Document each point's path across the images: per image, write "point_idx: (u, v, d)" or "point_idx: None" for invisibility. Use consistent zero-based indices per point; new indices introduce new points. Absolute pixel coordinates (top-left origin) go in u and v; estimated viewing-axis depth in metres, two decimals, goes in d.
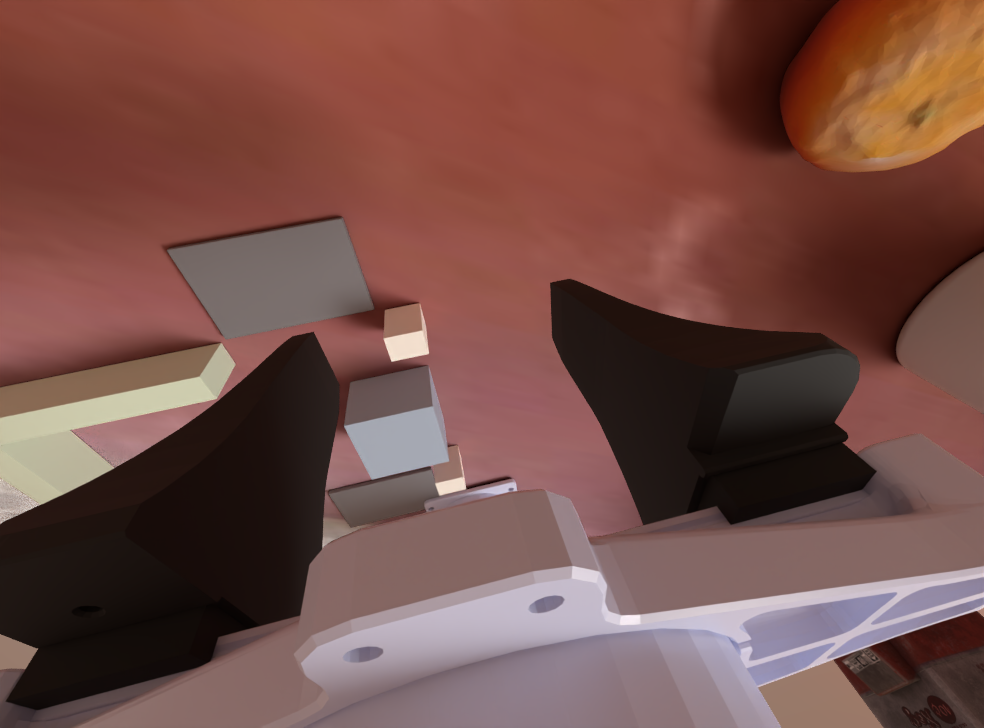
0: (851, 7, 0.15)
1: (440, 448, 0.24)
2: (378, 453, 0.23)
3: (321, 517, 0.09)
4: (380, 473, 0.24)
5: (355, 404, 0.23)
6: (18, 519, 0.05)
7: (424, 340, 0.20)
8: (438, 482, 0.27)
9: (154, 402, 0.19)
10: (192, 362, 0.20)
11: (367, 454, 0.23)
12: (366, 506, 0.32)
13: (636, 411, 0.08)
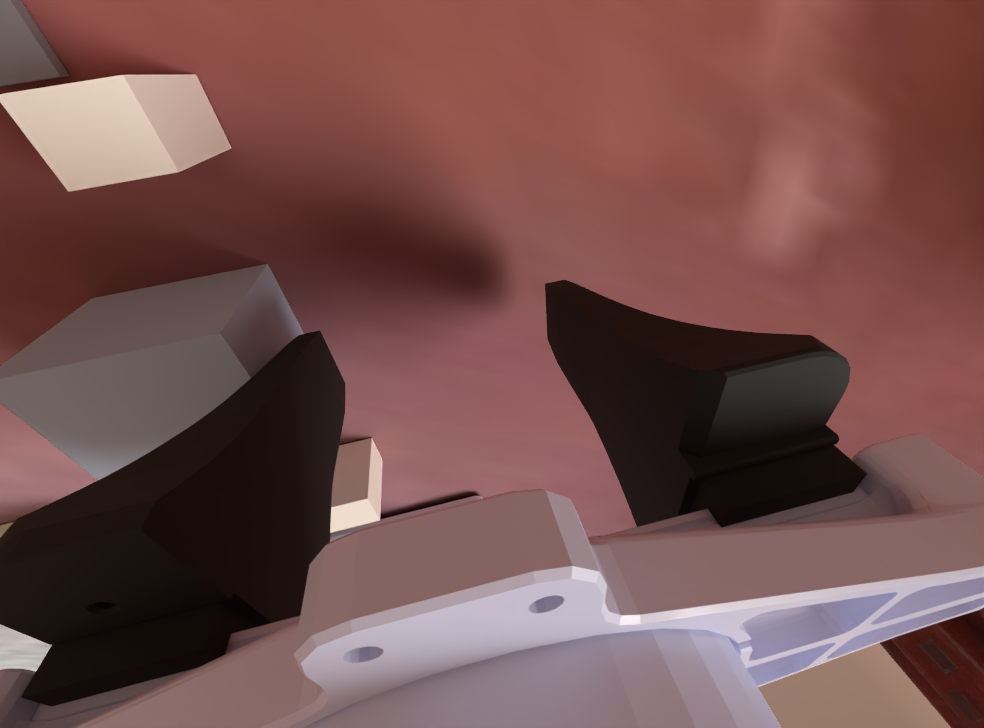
0: None
1: None
2: (126, 456, 0.10)
3: (328, 516, 0.09)
4: None
5: (54, 337, 0.09)
6: (33, 516, 0.05)
7: (147, 119, 0.07)
8: None
9: None
10: None
11: (95, 458, 0.10)
12: None
13: (629, 413, 0.08)
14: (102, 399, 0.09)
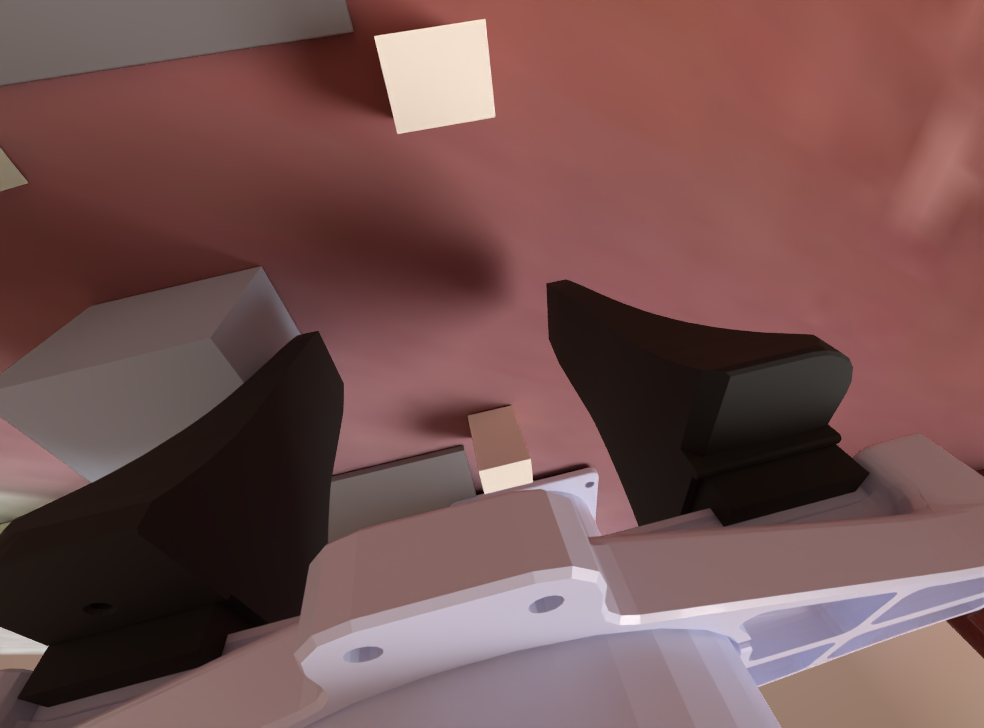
0: None
1: None
2: (125, 464, 0.10)
3: (326, 516, 0.09)
4: None
5: (50, 347, 0.09)
6: (29, 516, 0.05)
7: (487, 64, 0.07)
8: (485, 469, 0.15)
9: None
10: None
11: (95, 467, 0.10)
12: (353, 513, 0.19)
13: (631, 412, 0.08)
14: (97, 408, 0.09)
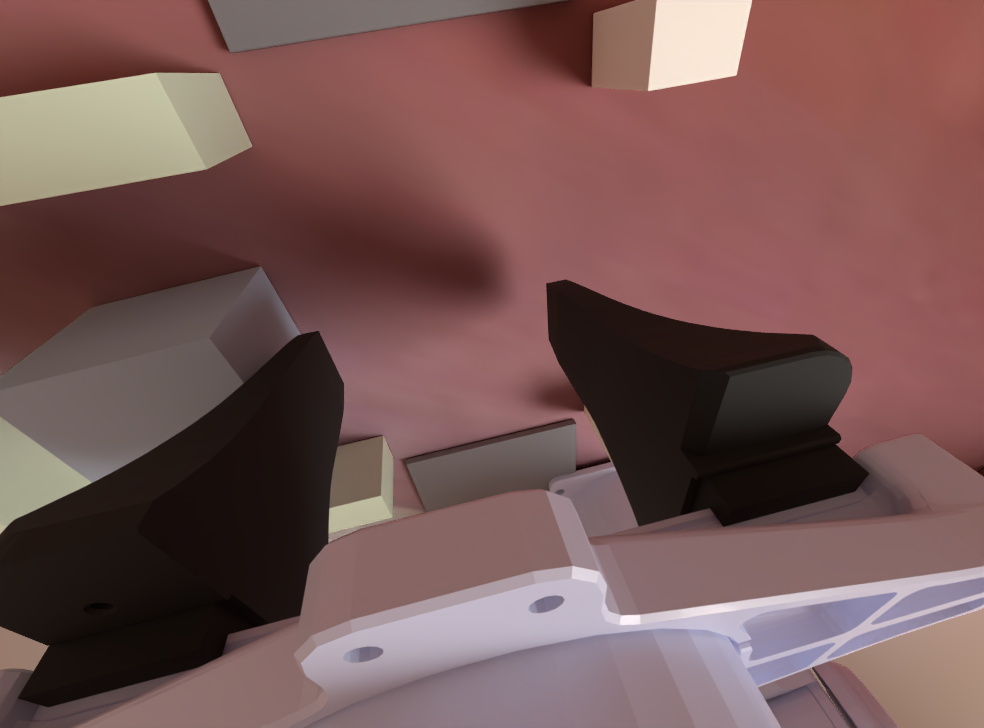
0: None
1: None
2: None
3: (326, 516, 0.09)
4: None
5: (50, 348, 0.09)
6: (30, 516, 0.05)
7: (744, 22, 0.08)
8: None
9: (33, 162, 0.07)
10: None
11: (95, 467, 0.10)
12: (461, 486, 0.19)
13: (630, 412, 0.08)
14: (98, 408, 0.09)
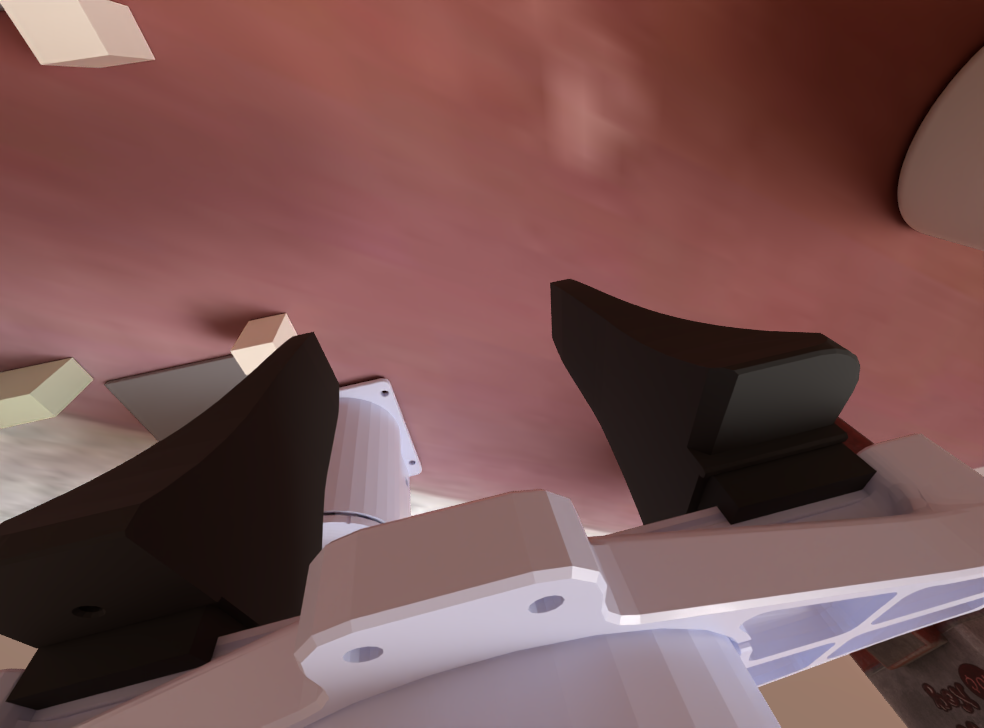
0: None
1: None
2: None
3: (320, 518, 0.09)
4: None
5: None
6: (18, 519, 0.05)
7: (87, 19, 0.12)
8: (235, 350, 0.19)
9: None
10: None
11: None
12: (173, 410, 0.23)
13: (636, 411, 0.08)
14: None
